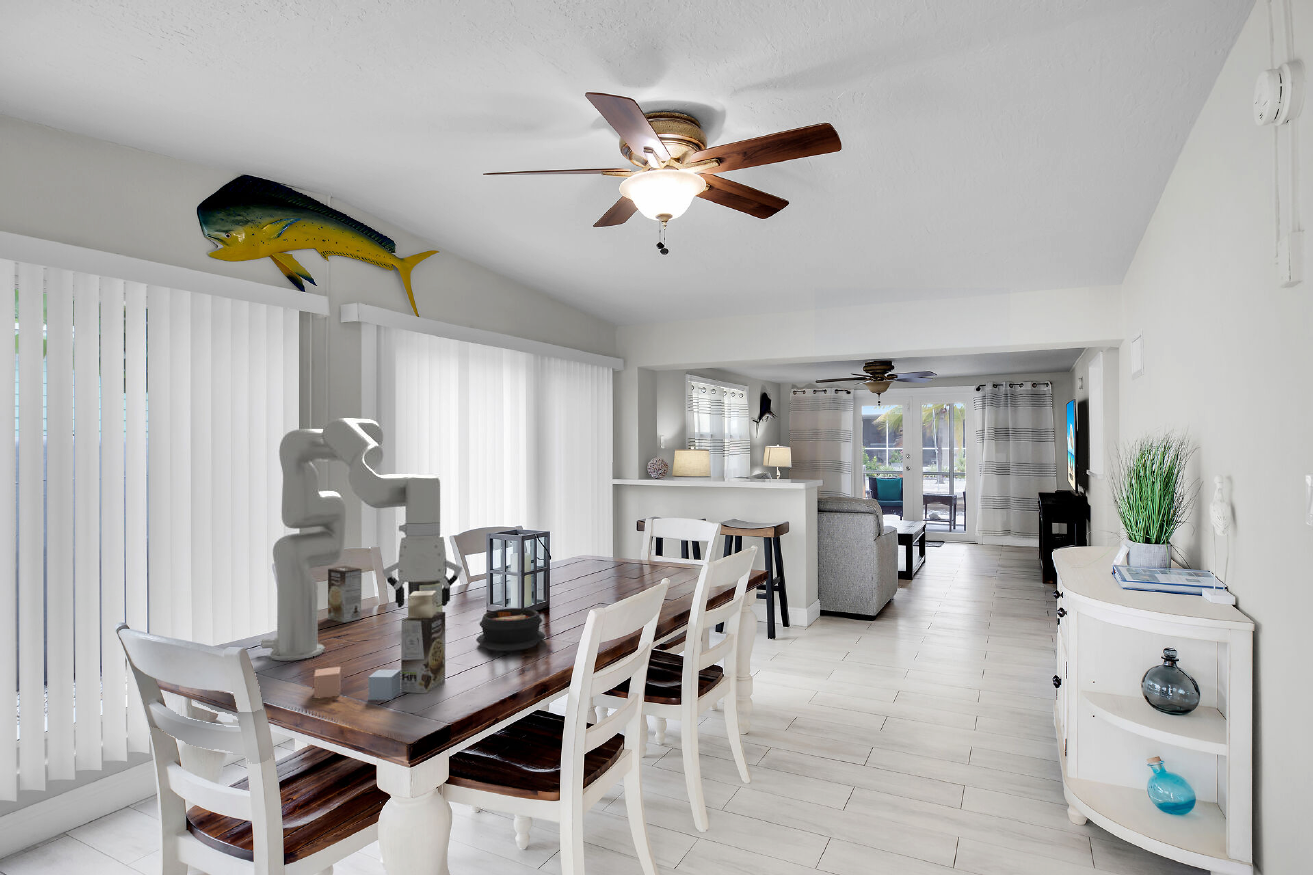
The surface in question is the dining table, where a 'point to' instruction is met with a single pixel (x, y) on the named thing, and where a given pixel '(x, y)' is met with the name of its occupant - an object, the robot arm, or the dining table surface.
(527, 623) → the casserole
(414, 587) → the coffee can
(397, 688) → the slate block
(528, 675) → the dining table surface
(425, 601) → the maple cube
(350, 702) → the dining table surface
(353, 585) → the coffee box
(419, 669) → the coffee box
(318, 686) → the terracotta block
